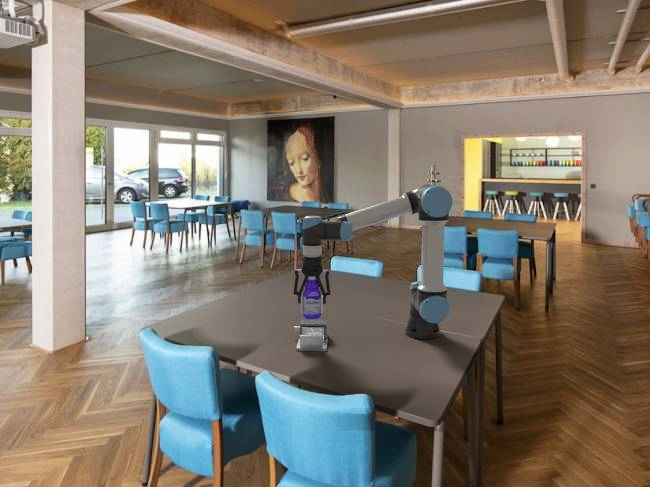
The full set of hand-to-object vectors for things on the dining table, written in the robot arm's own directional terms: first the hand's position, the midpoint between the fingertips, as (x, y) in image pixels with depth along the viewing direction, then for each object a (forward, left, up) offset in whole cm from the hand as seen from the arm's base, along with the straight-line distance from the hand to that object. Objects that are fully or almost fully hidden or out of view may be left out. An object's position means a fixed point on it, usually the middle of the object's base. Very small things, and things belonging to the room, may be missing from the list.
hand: (312, 311), depth 194 cm
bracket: (0, 0, -14) cm, 14 cm away
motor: (+1, -9, -14) cm, 17 cm away
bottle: (0, 0, -3) cm, 3 cm away
